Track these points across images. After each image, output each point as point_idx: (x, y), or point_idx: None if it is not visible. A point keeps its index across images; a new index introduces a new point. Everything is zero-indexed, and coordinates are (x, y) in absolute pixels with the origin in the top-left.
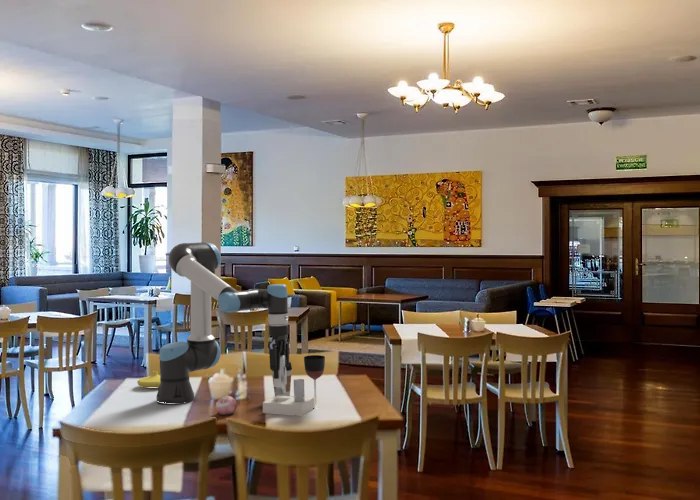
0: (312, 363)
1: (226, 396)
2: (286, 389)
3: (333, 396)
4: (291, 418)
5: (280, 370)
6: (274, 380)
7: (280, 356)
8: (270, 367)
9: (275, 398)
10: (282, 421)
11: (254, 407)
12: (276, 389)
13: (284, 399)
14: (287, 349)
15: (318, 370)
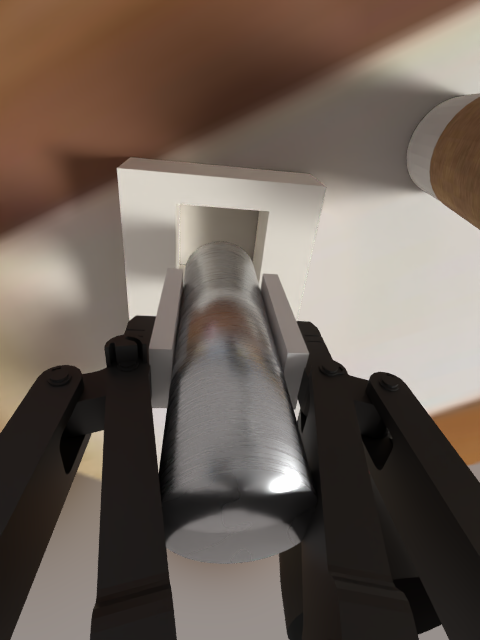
0: (282, 588)
1: None
2: (447, 206)
3: (475, 359)
4: (94, 331)
5: (167, 403)
6: (161, 297)
7: (186, 545)
8: (37, 384)
9: (244, 208)
10: (33, 315)
11: (246, 24)
12: (187, 268)
13: (261, 255)
14: (441, 619)
15: None
